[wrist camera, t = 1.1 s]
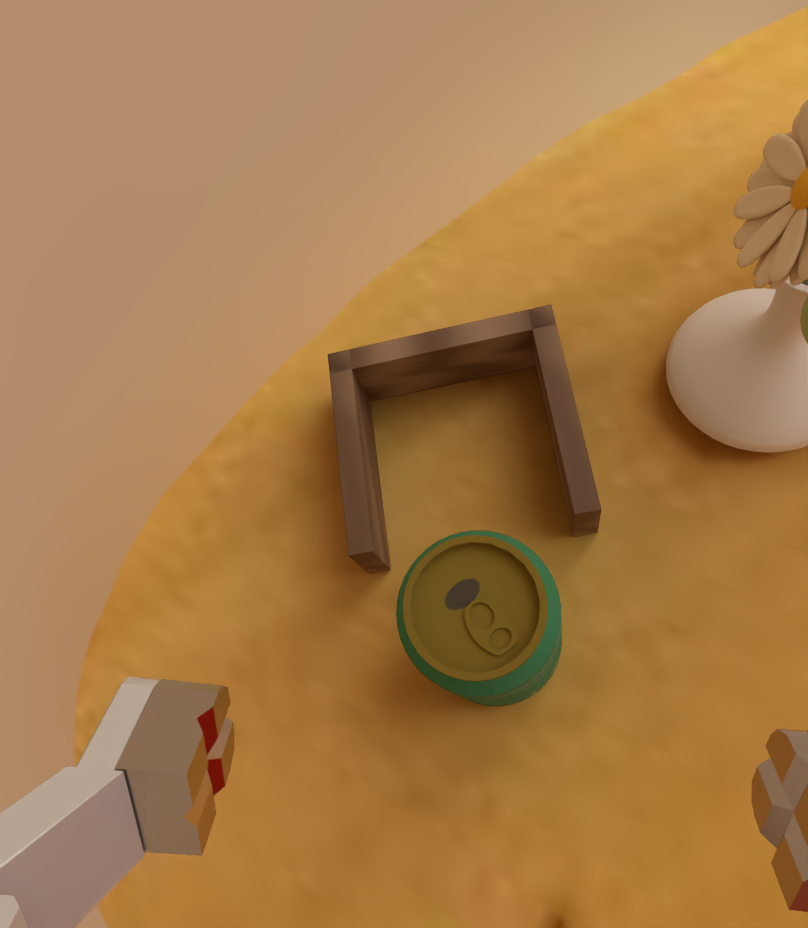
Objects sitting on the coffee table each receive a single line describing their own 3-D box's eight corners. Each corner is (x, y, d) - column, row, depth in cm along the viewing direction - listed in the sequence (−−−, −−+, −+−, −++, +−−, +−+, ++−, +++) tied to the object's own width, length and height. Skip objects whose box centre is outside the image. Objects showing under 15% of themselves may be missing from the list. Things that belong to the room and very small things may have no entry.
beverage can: (503, 550, 47) (485, 491, 36) (589, 649, 44) (598, 618, 33) (406, 629, 47) (358, 593, 36) (486, 735, 43) (460, 732, 32)
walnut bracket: (552, 343, 52) (551, 304, 47) (597, 532, 46) (601, 509, 42) (347, 387, 54) (327, 354, 49) (368, 573, 48) (348, 555, 44)
